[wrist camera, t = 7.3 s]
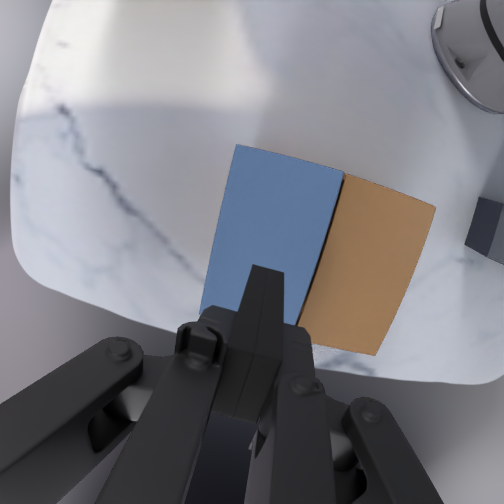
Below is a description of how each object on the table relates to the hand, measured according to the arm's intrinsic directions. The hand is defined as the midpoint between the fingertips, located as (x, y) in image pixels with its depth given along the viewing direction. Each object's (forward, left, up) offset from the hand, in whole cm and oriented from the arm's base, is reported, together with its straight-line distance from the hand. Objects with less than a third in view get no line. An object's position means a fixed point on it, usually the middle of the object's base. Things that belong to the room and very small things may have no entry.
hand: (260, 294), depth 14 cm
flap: (0, 0, -6) cm, 6 cm away
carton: (-4, 0, -17) cm, 18 cm away
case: (-30, -7, -17) cm, 35 cm away
